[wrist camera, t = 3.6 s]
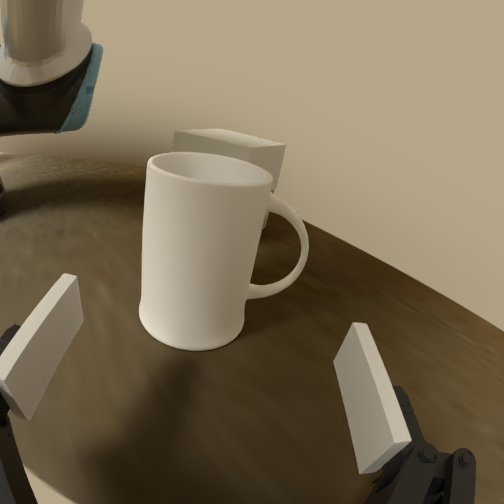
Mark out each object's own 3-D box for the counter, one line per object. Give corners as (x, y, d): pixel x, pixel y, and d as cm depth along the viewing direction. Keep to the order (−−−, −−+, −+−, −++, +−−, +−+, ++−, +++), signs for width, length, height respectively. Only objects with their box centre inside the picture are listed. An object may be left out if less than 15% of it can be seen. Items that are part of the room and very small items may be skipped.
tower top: (168, 179, 36) (174, 130, 33) (213, 168, 44) (220, 128, 41) (240, 203, 33) (251, 148, 30) (276, 188, 41) (286, 144, 38)
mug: (286, 306, 28) (323, 178, 23) (277, 376, 21) (334, 214, 15) (162, 274, 29) (174, 146, 23) (120, 330, 21) (117, 167, 16)
